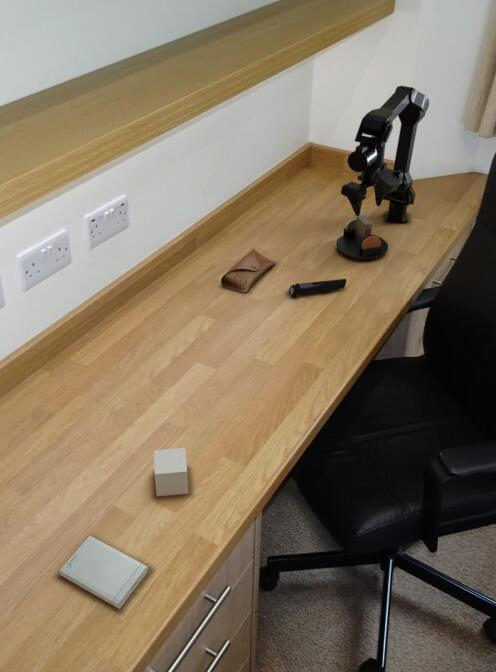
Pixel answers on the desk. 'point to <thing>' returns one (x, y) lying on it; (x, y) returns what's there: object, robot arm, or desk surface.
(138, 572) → the hard drive
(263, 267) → the sunglasses case
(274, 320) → the desk surface
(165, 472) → the light grey cube
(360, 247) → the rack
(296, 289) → the electric trimmer
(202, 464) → the desk surface
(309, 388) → the desk surface
